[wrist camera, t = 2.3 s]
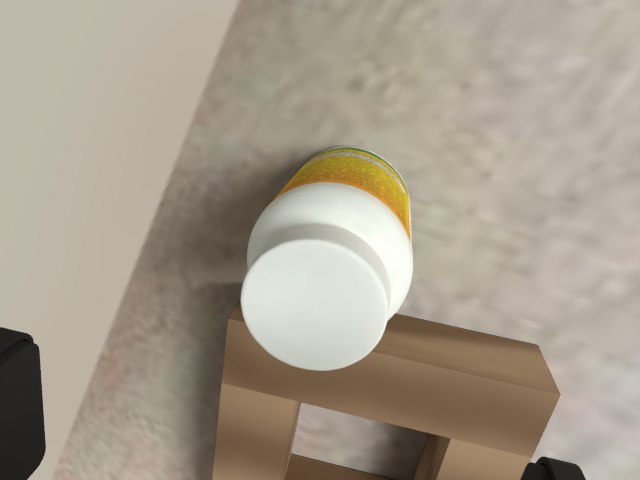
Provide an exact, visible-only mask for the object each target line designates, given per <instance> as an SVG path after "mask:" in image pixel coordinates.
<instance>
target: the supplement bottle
mask: <svg viewBox="0 0 640 480" xmlns="http://www.w3.org/2000/svg"><path fill="white" fill-rule="evenodd" d="M247 268H248V271H247V273H246V275H245V277H244V281H243V285H242V290H241V308H242V314H243V317H244V320H245V323H246V325H247V327H248V329H249V331H250V333H251V334H252V336H253V337H254V338H255V340H256V341H257V342H258V343H259V344H260V345H261V346H262V347H263V348H264V349H265V350H266V351H267V352H268V353H269V354H271V355H272V356H274V357H275V358H277V359H278V360H280V361H282V362H285V363H287V364H289V365H291V366H295V367H298V368H302V369H307V370H318V371H328V370H335V369H339V368H344V367H346V366H349V365H351V364H353V363H355V362H357V361H359V360H361V359H362V358H364V357H365V356H366V355H368V354H369V353H370V352H371V351H372V350H373V349H374V347H375V346H376V345H377V344H378V342H379V341H380V339H381V338H382V335H383V333H384V331H385V328H386V324H387V321H388V320H389V319H390V318H391V317H392V316H393V315H394V314H395V313H396V312H397V310H398V309H399V308H400V306H401V305H402V303H403V301H404V300H405V298H406V295H407V293H408V290H409V287H410V284H411V279H412V273H413V252H412V236H411V213H410V198H409V194H408V190H407V187H406V185H405V182H404V180H403V179H402V177H401V175H400V174H399V173H398V171H397V170H396V169H395V168H394V167H393V166H392V165H391V164H390V163H389V162H388V161H387V160H385V159H384V158H383V157H381V156H380V155H378V154H376V153H374V152H372V151H370V150H367V149H364V148H360V147H351V146H343V147H335V148H331V149H328V150H325V151H323V152H321V153H319V154H317V155H316V156H314V157H313V158H311V159H310V160H309V161H308V162H307V163H306V164H305V165H304V166H303V167H302V168H301V169H300V170H299V171H298V172H297V173H296V174H295V176H294V177H293V178H292V179H291V180H290V181H289V182H288V183H287V184H286V186H285V187H284V188H283V189H282V190H281V191H280V193H279V194H278V195H277V196H276V197H275V198H274V200H273V201H272V202H271V203H270V204H269V205H268V206H267V207H266V208H265V209H264V210H263V212H262V213H261V215H260V217H259V218H258V220H257V222H256V224H255V225H254V228H253V230H252V233H251V235H250V239H249V243H248V250H247Z"/></svg>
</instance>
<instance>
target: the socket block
mask: <svg viewBox="0 0 640 480" xmlns="http://www.w3.org/2000/svg"><path fill="white" fill-rule="evenodd" d="M559 397H560V393H559V390H558V388H557V386H556V384H555V382H554V379H553V377H552V375H551V373H550V371H549V368H548V366H547V364H546V362H545V360H544V358H543V355H542V353H541V351H540V349H539V347H538V345H534V344H530V343H525V342H521V341H516V340H512V339H507V338H503V337H498V336H494V335H489V334H485V333H480V332H476V331H471V330H467V329H462V328H458V327H453V326H449V325H444V324H440V323H435V322H431V321H426V320H422V319H417V318H413V317H408V316H404V315H399V314H394V315H393V316H392V317H391V318H390V319H389V320H388V321H387V324H386V328H385V331H384V333H383V335H382V338H381V339H380V341H379V342H378V344H377V345H376V346H375V347H374V349H373V350H372V351H371V352H370V353H369V354H368V355H366V356H365V357H364V358H362V359H361V360H359V361H357V362H355V363H353V364H351V365H349V366H346V367H344V368H339V369H335V370H328V371H318V370H307V369H302V368H298V367H295V366H291V365H289V364H287V363H285V362H282V361H280V360H278V359H277V358H275V357H274V356H272V355H271V354H269V353H268V352H267V351H266V350H265V349H264V348H263V347H262V346H261V345H260V344H259V343H258V342H257V341H256V340H255V338H254V337H253V336H252V334H251V333H250V331H249V329H248V327H247V325H246V323H245V320H244V317H243V314H242V308H241V299H240V300H239V302H238V303H237V305H236V307H235V308H234V310H233V311H232V313H231V314H230V316H229V318H228V323H227V333H226V343H225V353H224V363H223V373H222V383H221V393H220V403H219V413H218V423H217V433H216V443H215V453H214V463H213V473H212V480H393V479H389V478H385V477H381V476H377V475H373V474H369V473H365V472H361V471H357V470H353V469H349V468H345V467H341V466H337V465H333V464H329V463H325V462H321V461H317V460H313V459H309V458H305V457H301V456H297V455H293V454H291V452H292V447H293V442H294V436H295V431H296V425H297V420H298V415H299V409H300V404H301V402H302V403H306V404H310V405H315V406H319V407H323V408H327V409H331V410H335V411H339V412H344V413H348V414H352V415H356V416H360V417H364V418H368V419H373V420H377V421H381V422H385V423H389V424H393V425H397V426H402V427H406V428H410V429H414V430H418V431H422V432H426V433H429V434H428V437H427V440H426V443H425V446H424V449H423V452H422V455H421V458H420V461H419V464H418V467H417V470H416V473H415V476H414V479H413V480H520V479H521V476H522V474H523V472H524V470H525V467H526V466H527V464H528V463H530V461H531V458H532V456H533V454H534V452H535V450H536V447H537V445H538V443H539V441H540V439H541V437H542V434H543V432H544V430H545V428H546V426H547V423H548V421H549V419H550V417H551V415H552V413H553V410H554V408H555V406H556V404H557V402H558V399H559Z"/></svg>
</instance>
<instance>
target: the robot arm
mask: <svg viewBox="0 0 640 480" xmlns="http://www.w3.org/2000/svg"><path fill="white" fill-rule="evenodd" d="M45 448H46V445H45V431H44V415H43V400H42V384H41V370H40V354H39V347H38V346H37V345H36V344H34V342H33V338H32V337H31V335H29V334H27V333H23V332H18V331H14V330H9V329H5V328H2V327H1V328H0V480H27V479H28V478H29V477H30V475H31V474H32V473H33V472H34V471H35V470H36V469H37V467H38V466H39V465H40V463H41V461H42V459H43V456H44V454H45ZM520 480H586V479H585V477H584V475H583V473H582V471H581V469H580V468H579V466H577V465H576V464H573V463H569V462H564V461H560V460H556V459H552V458H548V457H541V458H539V459H538V461H537V462H536V463H528V464H527V466H526V467H525V470H524V472H523V474H522V476H521V479H520Z"/></svg>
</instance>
